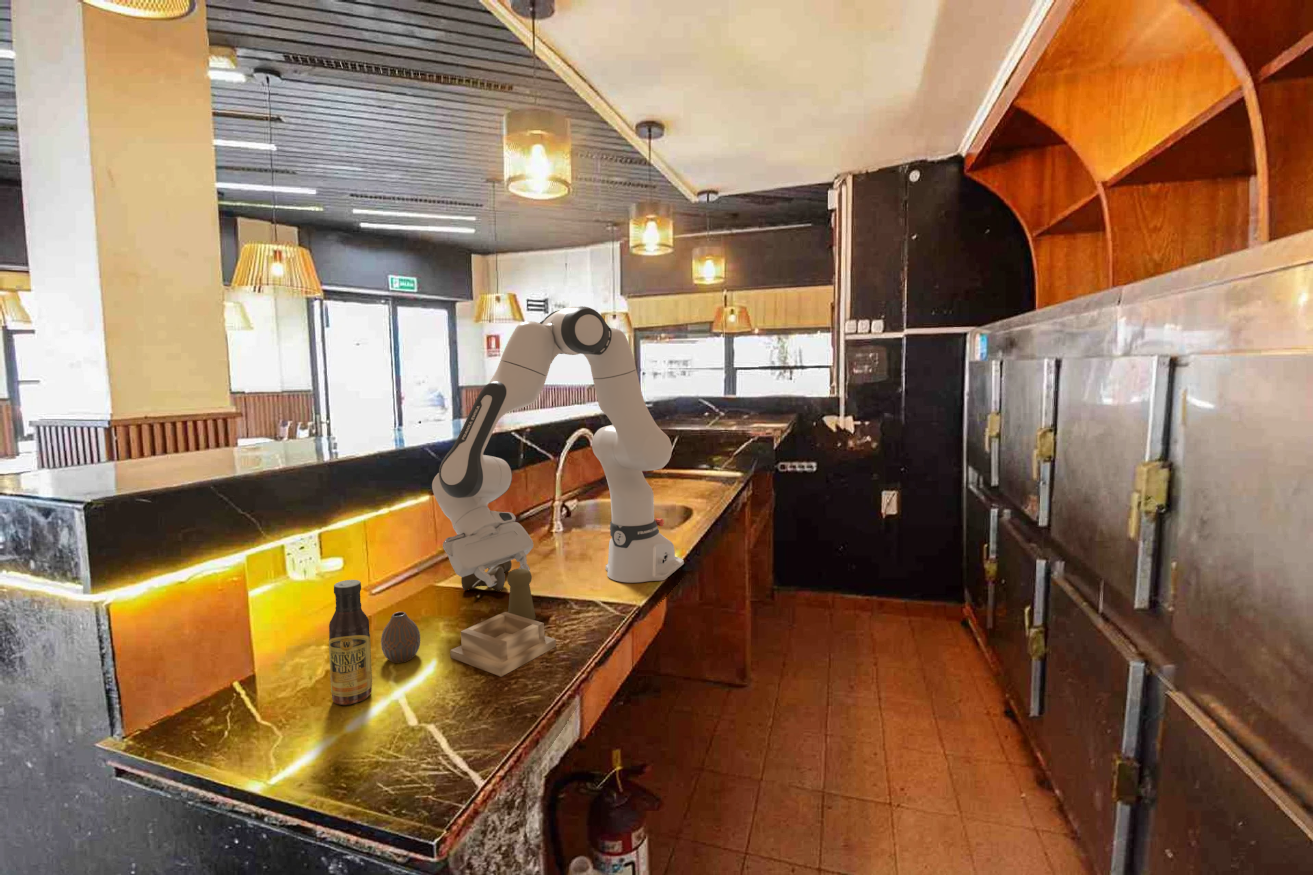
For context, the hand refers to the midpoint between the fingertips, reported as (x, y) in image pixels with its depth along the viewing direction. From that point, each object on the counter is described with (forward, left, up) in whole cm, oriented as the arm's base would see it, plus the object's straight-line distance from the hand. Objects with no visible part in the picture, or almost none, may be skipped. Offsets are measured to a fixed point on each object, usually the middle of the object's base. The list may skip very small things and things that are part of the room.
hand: (510, 578), depth 137 cm
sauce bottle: (+38, +3, -9) cm, 39 cm away
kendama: (-11, -21, -9) cm, 25 cm away
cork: (0, +3, -9) cm, 9 cm away
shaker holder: (+13, +12, -9) cm, 20 cm away
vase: (+25, -3, -9) cm, 27 cm away
